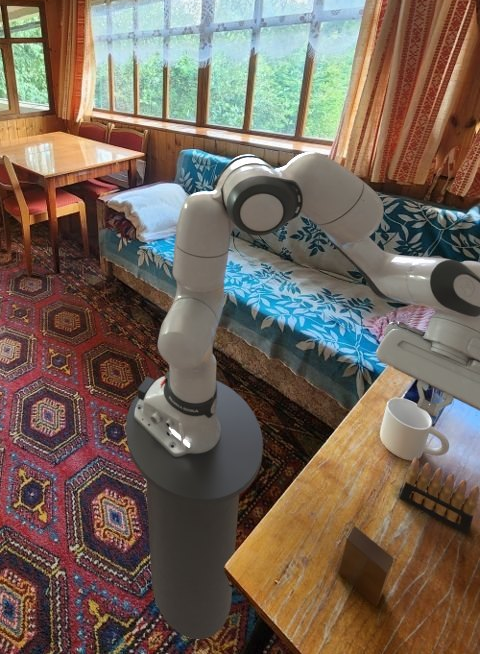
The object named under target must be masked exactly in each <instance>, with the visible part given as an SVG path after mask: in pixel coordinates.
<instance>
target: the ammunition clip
mask: <svg viewBox="0 0 480 654" xmlns="http://www.w3.org/2000/svg"><path fill="white" fill-rule="evenodd" d="M419 459H420V458H419ZM419 459H418V457H416V458H414V459H413V460H411V464H410V466H409V467H408V469H407V471H406V475H405V477H404V480H403V481H402V484H401V486H400V489H399V497H398V498H399V499H400V500H402V501H404V502H406V503H407V504H409V505H411V506H412V507H415V508H417V509H418V510H420V511H422V512H424V513H426V514H428V515H429V516H431V517H433V518H435V519H437V520H439V521H441V522H442V523H444V524H445V525H446V524H447V525H448V526H450V527H451V528H454V529H456V530H457V531H459V532H461V533H463V534H465V535H469V533H470V529H471V526H472V522H473V518H474V514H475V512H476V509H477V506H478V500H479V498H480V487H479V486H478V485H475V486H473V487H472V488H471V489H470V491H469V493H468V495H467V496H466V492H467V487H468V485H467V480H466V479H462V480H460V482H459V483H458V484H457V487H456V489H455V490H454V491H453V489H454V485H455V475H454V474H453V473H451V474H449V475H448V476H447V477H446V478H445V481H444V483H443V484H442V480H443V469H442V468H441V467H439V468H437V469H436V470H435V472H434V474H433V475H432V478H431V479H430V474H431V471H432V470H431V469H432V468H431V463H430V462H426V463H425V464H424V465H423V467H422V470H421V471H420V473H418V472H419V468H420V460H419Z"/></svg>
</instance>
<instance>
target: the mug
mask: <svg viewBox="0 0 480 654" xmlns="http://www.w3.org/2000/svg"><path fill="white" fill-rule="evenodd" d="M417 404H418V403H416V402H414V401H412V400H409V399H407V398H403V397H392V398H389V400H388V401H387V403H386V407H385V411H384V414H383V418H382V421H381V422H382V423H381V425H380V430H379V437H380V441H381V442H382V444H383V446H384V447H385V448H386V449H387V450H388V451H389V452H390V453H392V454H393V455H394V456H396V457H397V458H398V457H399V458H400V459H403V460H406V461H413V459H414V458H416V457H418V459H420V458H421V457H422V456H423V453H425V454H427V455H431V456H438V457H439V456H443V455H445V454H447V453H448V452H449V450H450V442H449V440H448V438H447V436H446V435H445V434H444V433H443V432H442V431H440V430H439V429H437V428H436V427H434V426H433V420H432V417H431V414H430V413H428V412H426V411H424V410H422V409H421V408H419V407H417ZM430 435H433V436H434V437H436V438H437V439H438V440H439V441H440V446H439V447H435V448H434V447H430V446H428V445H427V443H428V439H429V436H430Z"/></svg>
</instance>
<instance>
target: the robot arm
mask: <svg viewBox="0 0 480 654" xmlns="http://www.w3.org/2000/svg"><path fill="white" fill-rule="evenodd" d="M211 186H212V190H211V191H198V192H194V193H192V194H189V195H188V196H187V197H186V198H185V199H184V200H183V203H182V206H181V209H180V211H179V214H178V219H177V224H176V230H175V236H174V246H173V247H174V248H173V259H172V272H171V273H172V277H173V279H174V280H175V281H176V291H175V296H174V298H173V301H172V304H171V306H170V308H169V310H168V312H167V313H166V315H165V317H164V319H163V321H162V323H161V326H160V330H159V334H158V339H157V350H158V352H159V354H160V357H161V358H162V359H163V360H164V361H165V362H166V364H168V367H169V368H168V371H167V372H166V373H165V374H164V376H161V377H159V378H158V379H153V378H151V377H150V376H146V378H145V379H144V380H143V382H142V383H141V384H140V385H139V386H138V387H137V389H136V390H137V395H138V398H139V399H140V400H139V401H138V403H137V405H136V408H135V414H134V418H135V419H136V420H137V421H138V422H139V423H140V424H141V425H142V426H143V427H144V428H145V429H146V430H147V431H148V432H149V433H150V434H151V435H152V436H153V437H154V438H155V439H156V440H157V441H158V442H159V443H160V444H161V445H162V446H163V447H165V448H166V449H167V450H168V451H169V452H170V453H171V454H172V455H173V456H175V457H179V456H182V455H185V454H188V453H194V454H197V453H204V452H207V451H209V450H211V449H212V448H213V447H214V446H215V445H216V444H217V443H218V441H219V439H220V435H221V427H220V423H219V420H218V417H217V412H216V408H217V401H218V398H217V384H216V381H217V359H216V356H215V355H214V352H213V349H214V341H215V337H216V333H217V329H218V326H219V323H220V321H221V317H222V315H223V310H224V301H225V279H226V272H227V267H228V266H227V265H228V258H229V251H230V245H231V236H232V233H233V231H234V229H235V228H238V229H239V230H240V231H242V232H243V233H245V234H248V235H251V236H255V237H256V236H257V237H258V236H259V237H260V236H266V235H270V234H273V233H275V232H277V231H278V230H280V229H282V228H283V227H284V226H286V225H287V224H288V222H289V221H292V220H294V219H296V218H298V216H299V215H300V213H301V214H302V215H303V216H305V217H306V218H307V219H308V220H309V221H311V222H312V224H314V225H315V226H317V228H319V229H320V230H321V231H323V234H324V235H325V238H326V239H327V240H328V241H329V242H330V243H331V244H332V246H334V248H336V250H337V251H339V253H340V254H341V255H342V256H343V257H345V259H347V261H349V262H350V263H351V264H352V265H353V266H354V267H355V268H356V270H358V271H359V272H360V274H361V275H362V276H363V278H364V280H365V282H366V284H367V285H368V287H369V289H370V290H371V291H372V292H373V294H375V296H377V297H378V298H379V299H382V300H385V301H389V302H399V303H405V304H410V305H415V306H420V307H425V308H430V309H432V310H434V311H435V312H434V313H433V314H432V315H431V318H430V320H429V322H428V325H427V326H426V330H425V331H424V330H421V329H419V328H416V327H414V326H410V325H408V324H406V323H405V322H401V321H398V322H396V321H392V322H389V323H388V324H386V326H385V328H384V331H383V336H384V337H383V339H382V340H381V342H380V343H379V345H378V347H377V349H376V351H375V356H376V358H377V360H378V361H379V362H380V363H382V364H384V365H386V366H388V367H390V368H392V369H394V370H396V371H398V372H400V373H402V374H404V375H406V376H408V377H410V378H413V379H414V380H416V381H417V383H416V388H417V392H418V397H419V399H418V401H417V403H416V404H417V407H419V408H421V409H422V410H424V411H426V412H427V413H428V414H429V415H431V416H432V417H433V416H434V417H435V418H438V416H439V414H440V411H441V409H444V408H446V407H448V406H451V405H452V404H453V402H454V399H455V400H457V401H459V402H461V403H463V404H465V405H467V406H469V407H472V408H473V409H476V410H477V411H479V412H480V261H474V260H464V261H458V260H455V259H449V258H444V257H443V258H441V257H431V256H415V255H400V254H395V253H391V252H388V251H385V250H383V249H382V248H381V247H380V246H378V244H377V243H376V242H375V241H374V240H372V238H371V236H372V235H373V234H374V233H375V232H376V231H377V229H378V228H379V226H380V225H381V223H382V221H383V218H384V211H385V210H384V203H383V202H384V201H383V200H382V199H381V197H380V196H379V194H378V193H377V192H376V191H375V190H374V189H373V188H372V187H370V185H368V184H367V183H366V182H365V181H364V180H362V179H361V178H360V177H359V176H357V175H356V174H355V173H353V172H352V171H351V170H349V169H348V168H347V167H345V166H343V165H342V164H340V163H338V162H337V161H336V160H333V159H332V158H330V157H328V156H326V155H324V154H322V153H320V152H316V151H307V152H304V153H300V154H298V155H296V156H295V157H293V158H292V159H291V160H290V161H288V162H287V164H286V165H284V166H282V167H276V168H274V167H273V166H272V165H271V164H270V163H269V162H268V161H267V160H266V159H265V158H263V157H260V156H258V155H254V154H242V155H239V156H236V157H234V158H233V159H231V160H229V162H228V163H227V164H226V165H225V167H224V168H223V169H222V171H221V172H220V174H219V175H218V176H217V177H216V179H215V180H214V181H213V182H212V185H211ZM156 380H157V381H156ZM429 387H430V388H433V389H434V390H436V391H439V392H441V393H442V395H441V399H442V401H440V402H438V403H436V404H435V403H432V402H431V401H429V400H427V399H426V397H425V394H424V391H427V390H428V388H429ZM139 408H140V409H139ZM171 447H174V448H171Z"/></svg>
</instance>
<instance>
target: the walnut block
mask: <svg viewBox="0 0 480 654" xmlns="http://www.w3.org/2000/svg"><path fill="white" fill-rule="evenodd" d="M393 563H394V557H393V556H392V555H391V554H390V553H388V552H387V551H386V550H385V549H383V548H382V547H381V546H379V544H378V543H376V542H375V541H374V540H372V538H370V537H369V536H368V535H367V534H365V533H364V531H362V530H361V529H359V528H358V527H357V526H355V525H353V527H351V530H350V532H349V534H348V535H347V537H346V540H345V544H344V548H343V553H342V556H341V561H340V565H339V569H338V573H339V574H340V575H341V576H342V578H344V579H345V581H347V583H349V584H350V585H351V586H352V587H353V588H354V589H356V590H357V592H359V593H360V594H361V595H362V596H363V597H364V598H365V599H366V600H367V601H368V602H369V603H370V604H371V605H372V606H374V607H375V608H377V607H378V605H379V603H380V601H381V598H382V596H383V593H384V591H385V588H386V586H387V582H388V578H389V575H390V572H391V570H392V569H391V568H392V566H393Z"/></svg>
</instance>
